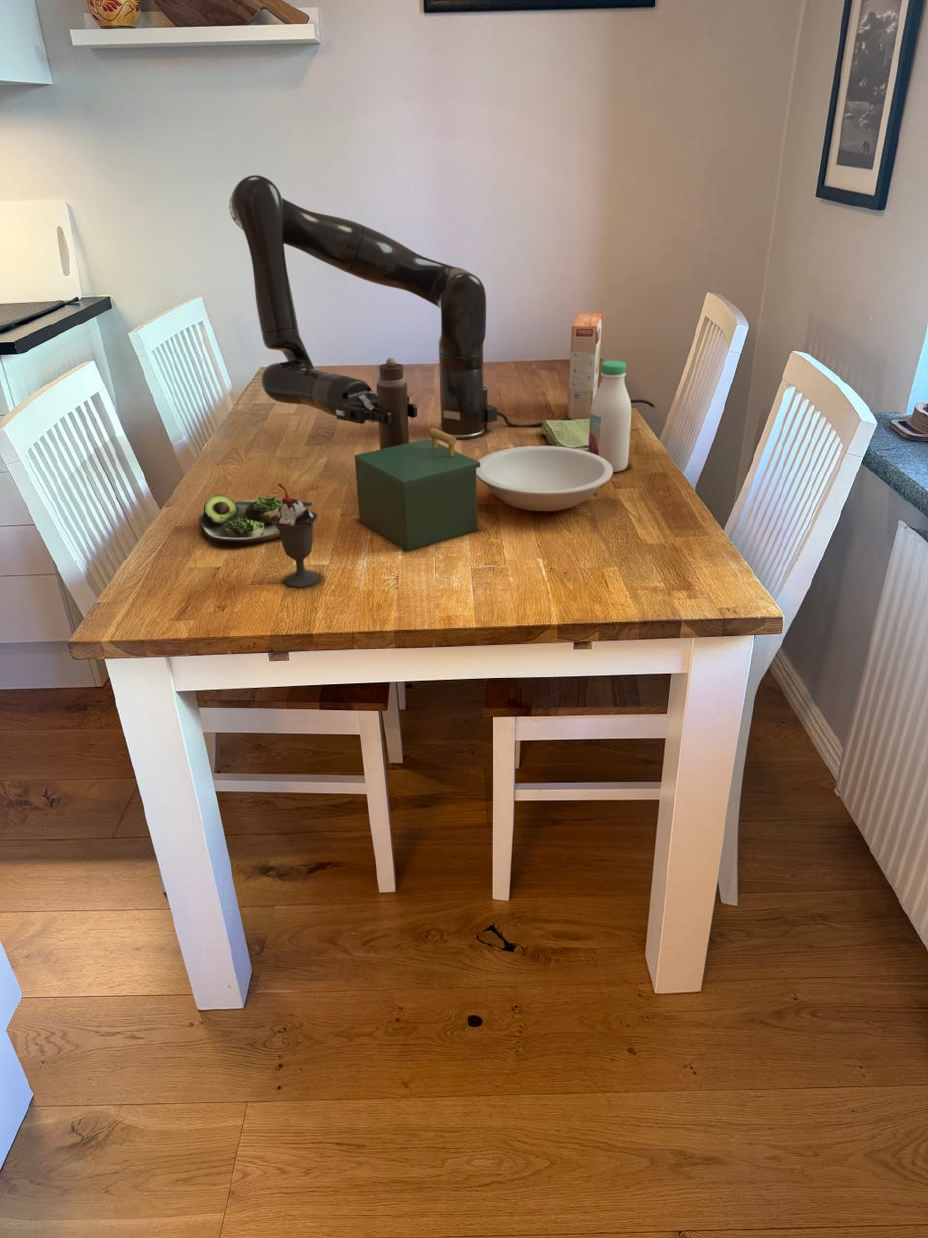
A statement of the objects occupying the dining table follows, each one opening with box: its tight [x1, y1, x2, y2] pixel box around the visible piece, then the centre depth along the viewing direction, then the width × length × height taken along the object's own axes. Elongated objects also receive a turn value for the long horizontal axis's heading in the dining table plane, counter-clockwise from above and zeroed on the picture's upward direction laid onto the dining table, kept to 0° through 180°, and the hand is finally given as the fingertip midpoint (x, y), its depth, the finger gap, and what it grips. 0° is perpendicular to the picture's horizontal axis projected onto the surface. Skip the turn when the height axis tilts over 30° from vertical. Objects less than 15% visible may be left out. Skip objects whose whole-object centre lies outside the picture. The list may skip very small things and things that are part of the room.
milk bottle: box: [588, 360, 632, 473], centre depth 174 cm, size 8×8×20 cm
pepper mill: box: [376, 357, 410, 450], centre depth 160 cm, size 5×5×18 cm
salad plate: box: [198, 494, 313, 548], centre depth 156 cm, size 19×18×5 cm
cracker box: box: [566, 312, 603, 420], centre depth 206 cm, size 14×6×21 cm, turn 168°
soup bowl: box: [476, 445, 614, 512], centre depth 162 cm, size 24×24×7 cm
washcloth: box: [540, 419, 590, 452], centre depth 191 cm, size 13×18×3 cm
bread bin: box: [354, 459, 478, 552], centre depth 153 cm, size 14×16×11 cm
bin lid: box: [354, 427, 480, 487], centre depth 149 cm, size 14×16×4 cm
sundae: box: [271, 483, 319, 588], centre depth 134 cm, size 7×7×15 cm
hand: (402, 415), depth 158 cm, fingers closed on pepper mill, 5 cm apart
